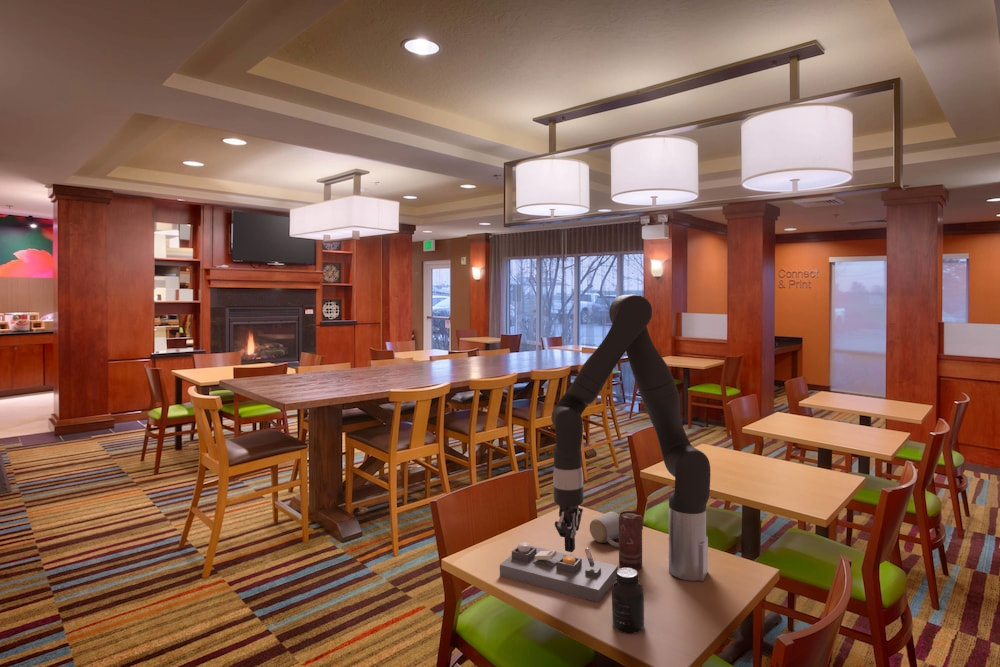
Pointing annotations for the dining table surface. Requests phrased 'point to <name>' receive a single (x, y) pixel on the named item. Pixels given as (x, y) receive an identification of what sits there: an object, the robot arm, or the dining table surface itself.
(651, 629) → the dining table surface
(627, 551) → the can
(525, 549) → the grey button
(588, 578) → the control panel
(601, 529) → the ceramic mug
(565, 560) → the orange button
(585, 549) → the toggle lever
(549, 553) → the rocker switch
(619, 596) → the supplement bottle
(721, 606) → the dining table surface
